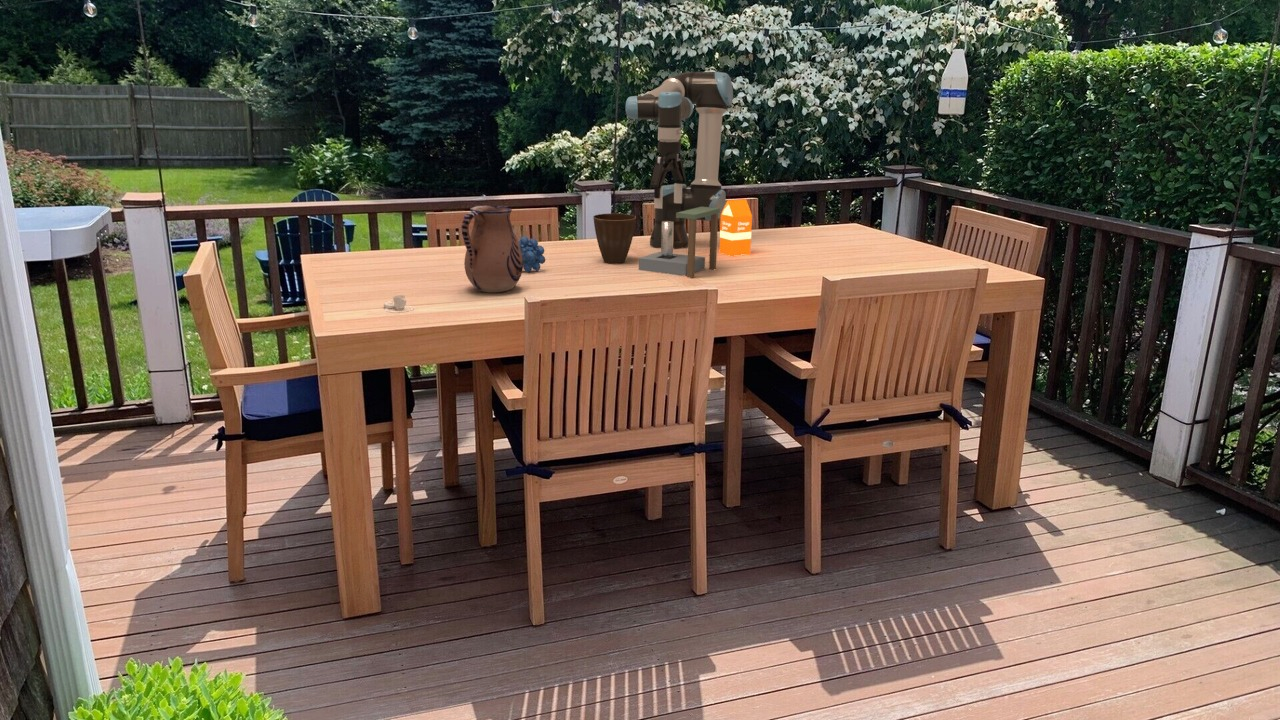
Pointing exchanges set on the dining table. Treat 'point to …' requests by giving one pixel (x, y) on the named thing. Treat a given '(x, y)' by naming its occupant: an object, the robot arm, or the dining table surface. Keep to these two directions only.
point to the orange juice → (735, 228)
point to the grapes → (531, 254)
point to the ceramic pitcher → (491, 249)
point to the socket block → (669, 264)
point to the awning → (692, 217)
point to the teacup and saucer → (397, 304)
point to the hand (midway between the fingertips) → (668, 205)
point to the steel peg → (667, 239)
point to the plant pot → (614, 236)
